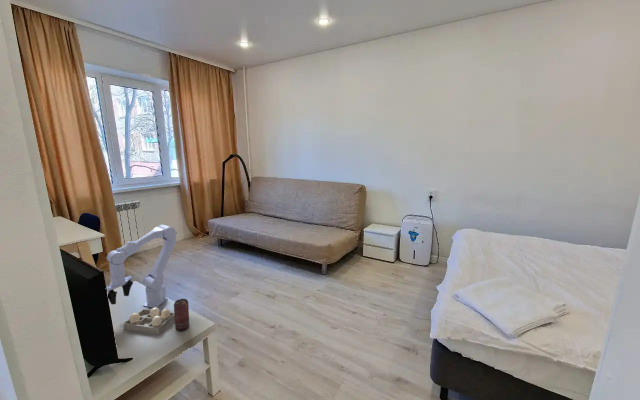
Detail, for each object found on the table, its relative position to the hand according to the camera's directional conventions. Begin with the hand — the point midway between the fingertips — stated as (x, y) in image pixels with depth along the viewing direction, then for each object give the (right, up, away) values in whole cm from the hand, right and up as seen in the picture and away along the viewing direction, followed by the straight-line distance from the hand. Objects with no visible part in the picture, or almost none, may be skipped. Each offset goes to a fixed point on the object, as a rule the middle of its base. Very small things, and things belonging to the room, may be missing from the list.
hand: (120, 299), depth 135 cm
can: (+34, -12, -5) cm, 36 cm away
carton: (+17, -11, -2) cm, 20 cm away
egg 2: (+18, -9, 0) cm, 20 cm away
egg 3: (+23, -11, -6) cm, 26 cm away
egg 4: (+23, -10, -1) cm, 25 cm away
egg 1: (+11, -10, -5) cm, 16 cm away
